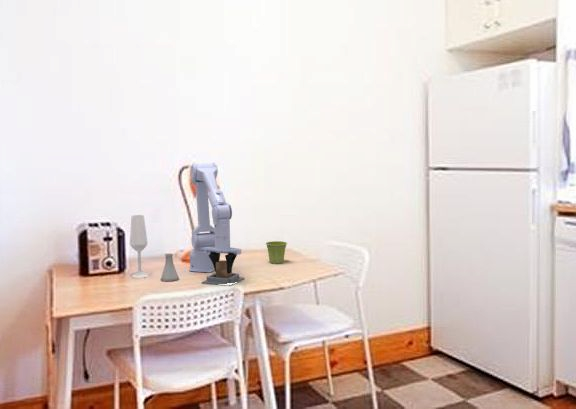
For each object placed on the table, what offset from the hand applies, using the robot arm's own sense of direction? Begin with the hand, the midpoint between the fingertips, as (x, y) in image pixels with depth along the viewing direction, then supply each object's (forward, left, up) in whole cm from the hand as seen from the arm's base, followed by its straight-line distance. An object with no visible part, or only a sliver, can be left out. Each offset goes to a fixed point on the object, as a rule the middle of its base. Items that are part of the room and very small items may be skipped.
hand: (223, 272), depth 214 cm
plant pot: (+6, +39, -4) cm, 40 cm away
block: (0, +1, -2) cm, 2 cm away
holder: (0, 0, -3) cm, 3 cm away
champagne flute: (-36, -2, -4) cm, 36 cm away
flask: (-21, -4, -4) cm, 22 cm away
